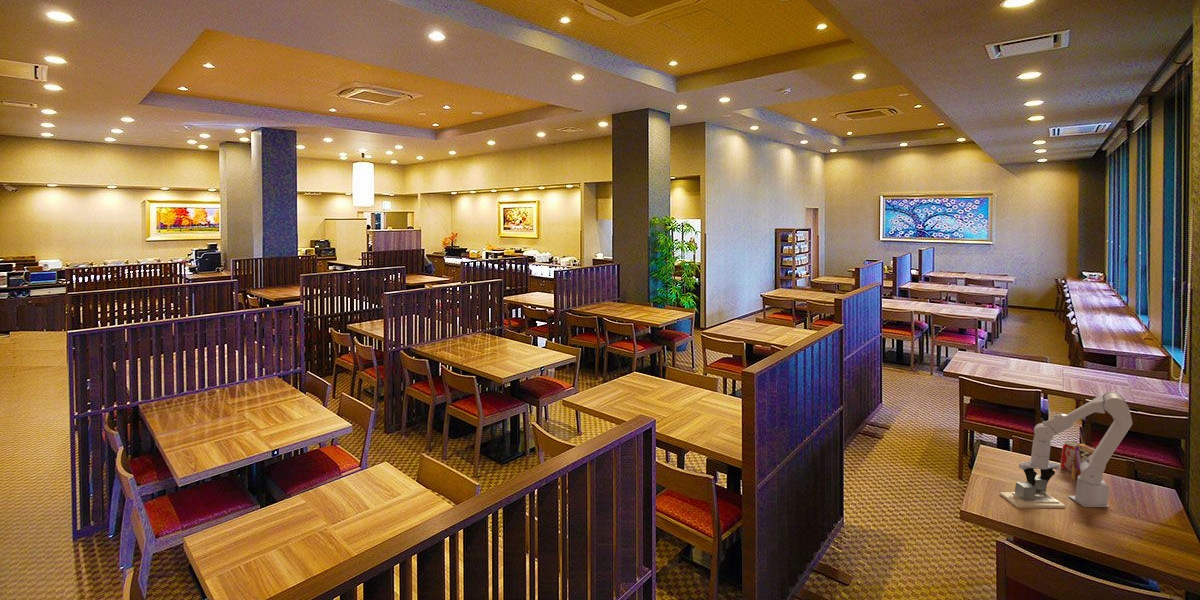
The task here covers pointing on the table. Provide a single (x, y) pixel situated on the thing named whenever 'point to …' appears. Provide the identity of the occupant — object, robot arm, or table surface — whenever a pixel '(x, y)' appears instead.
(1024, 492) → the block
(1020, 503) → the scale base
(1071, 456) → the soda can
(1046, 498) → the white flat slab
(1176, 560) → the table surface
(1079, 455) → the candy box
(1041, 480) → the spacer
